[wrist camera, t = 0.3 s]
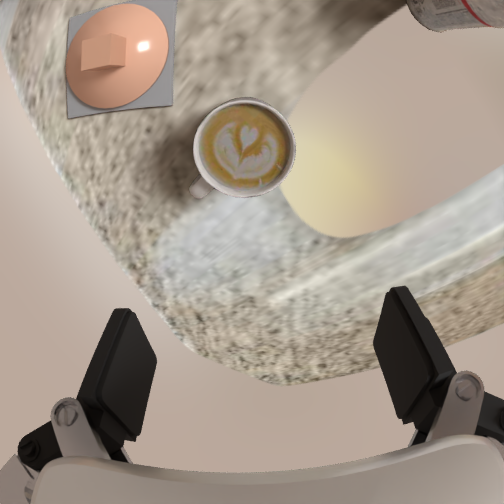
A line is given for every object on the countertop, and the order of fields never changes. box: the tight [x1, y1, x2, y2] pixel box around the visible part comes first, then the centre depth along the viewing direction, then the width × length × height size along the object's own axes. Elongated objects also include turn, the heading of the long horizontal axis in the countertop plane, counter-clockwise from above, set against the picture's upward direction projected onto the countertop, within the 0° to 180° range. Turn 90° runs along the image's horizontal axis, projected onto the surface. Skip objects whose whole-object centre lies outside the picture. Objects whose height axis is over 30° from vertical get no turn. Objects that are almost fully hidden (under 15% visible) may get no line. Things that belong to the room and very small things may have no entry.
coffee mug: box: [189, 97, 296, 199], centre depth 31 cm, size 13×10×10 cm
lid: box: [66, 4, 169, 108], centre depth 25 cm, size 15×15×6 cm
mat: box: [67, 0, 177, 118], centre depth 28 cm, size 16×16×1 cm
